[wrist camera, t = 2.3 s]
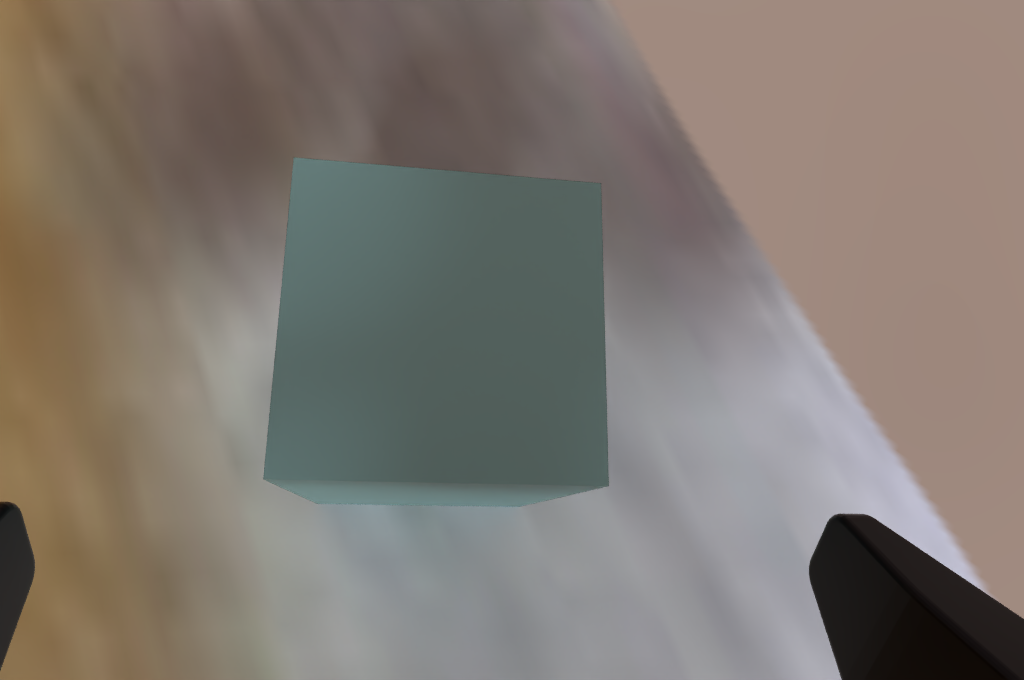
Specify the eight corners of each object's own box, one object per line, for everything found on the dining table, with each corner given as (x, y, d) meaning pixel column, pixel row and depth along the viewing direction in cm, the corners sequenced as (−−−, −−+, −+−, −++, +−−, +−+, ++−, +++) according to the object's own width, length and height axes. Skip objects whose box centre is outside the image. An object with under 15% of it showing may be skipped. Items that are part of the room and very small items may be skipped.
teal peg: (519, 506, 19) (609, 485, 11) (317, 503, 18) (262, 479, 10) (520, 318, 20) (600, 183, 12) (331, 307, 19) (293, 157, 12)
